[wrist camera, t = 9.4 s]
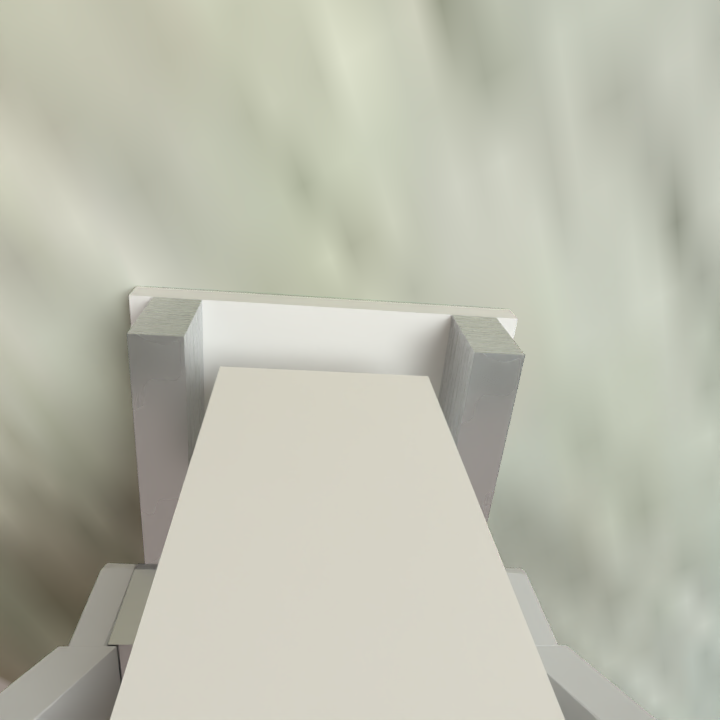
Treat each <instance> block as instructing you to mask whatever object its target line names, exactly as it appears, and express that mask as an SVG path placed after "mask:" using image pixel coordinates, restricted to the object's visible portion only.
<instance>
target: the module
mask: <svg viewBox="0 0 720 720" xmlns="http://www.w3.org/2000/svg"><path fill="white" fill-rule="evenodd" d="M110 720H565V718H564V716H563V713H562V711H561V708H560V706H559V703H558V701H557V698H556V696H555V693H554V691H553V688H552V686H551V683H550V681H549V678H548V676H547V673H546V671H545V668H544V665H543V663H542V660H541V658H540V655H539V653H538V650H537V648H536V645H535V643H534V640H533V638H532V635H531V633H530V630H529V628H528V625H527V623H526V620H525V618H524V615H523V613H522V610H521V608H520V605H519V603H518V600H517V598H516V595H515V593H514V590H513V588H512V585H511V583H510V580H509V578H508V575H507V573H506V570H505V568H504V565H503V563H502V560H501V558H500V555H499V553H498V550H497V548H496V545H495V543H494V540H493V538H492V535H491V533H490V530H489V527H488V525H487V522H486V520H485V517H484V515H483V512H482V510H481V507H480V505H479V502H478V500H477V497H476V495H475V492H474V490H473V487H472V485H471V482H470V480H469V477H468V475H467V472H466V470H465V467H464V465H463V462H462V460H461V457H460V455H459V452H458V450H457V447H456V445H455V442H454V440H453V437H452V435H451V432H450V430H449V427H448V425H447V422H446V420H445V417H444V415H443V412H442V410H441V407H440V405H439V402H438V400H437V397H436V394H435V392H434V389H433V387H432V384H431V382H430V379H429V377H428V376H414V375H393V374H371V373H350V372H329V371H308V370H287V369H266V368H245V367H223V366H220V368H219V371H218V375H217V378H216V381H215V384H214V388H213V391H212V394H211V397H210V400H209V404H208V407H207V410H206V413H205V416H204V420H203V423H202V426H201V429H200V432H199V436H198V439H197V442H196V445H195V448H194V452H193V455H192V458H191V461H190V464H189V468H188V471H187V474H186V477H185V481H184V484H183V487H182V490H181V493H180V497H179V500H178V503H177V506H176V509H175V513H174V516H173V519H172V522H171V525H170V529H169V532H168V535H167V538H166V541H165V545H164V548H163V551H162V554H161V558H160V561H159V564H158V567H157V570H156V574H155V577H154V580H153V583H152V586H151V590H150V593H149V596H148V599H147V602H146V606H145V609H144V612H143V615H142V618H141V622H140V625H139V628H138V631H137V634H136V638H135V641H134V644H133V647H132V651H131V654H130V657H129V660H128V663H127V667H126V670H125V673H124V676H123V679H122V683H121V686H120V689H119V692H118V695H117V699H116V702H115V705H114V708H113V711H112V715H111V718H110Z"/></svg>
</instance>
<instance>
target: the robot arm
mask: <svg viewBox="0 0 720 720" xmlns="http://www.w3.org/2000/svg"><path fill="white" fill-rule="evenodd" d="M157 567H158V564H120V563H107V564H106V565H105V566H104V567H103V568H102V569H101V571H100V573H99V575H98V578H97V580H96V582H95V585H94V587H93V589H92V591H91V594H90V596H89V598H88V601H87V603H86V605H85V608H84V610H83V612H82V615H81V617H80V619H79V622H78V624H77V626H76V629H75V631H74V633H73V636H72V638H71V640H70V643H69V645H68V646H58V647H57V648H56V649H54V650H53V651H52V652H51V653H49V654H48V655H47V656H46V657H44V658H43V659H42V660H41V661H39V662H38V663H37V664H36V665H34V666H33V667H32V668H31V669H29V670H28V671H27V672H26V673H24V674H23V675H22V676H21V677H19V678H18V679H17V680H15V681H14V682H13V683H12V684H10V685H9V686H8V687H7V688H5V689H4V690H3V691H2V692H1V693H0V720H110V718H111V715H112V711H113V708H114V705H115V702H116V699H117V695H118V692H119V689H120V686H121V683H122V679H123V676H124V673H125V670H126V667H127V663H128V660H129V657H130V654H131V651H132V647H133V644H134V641H135V638H136V634H137V631H138V628H139V625H140V622H141V618H142V615H143V612H144V609H145V606H146V602H147V599H148V596H149V593H150V590H151V586H152V583H153V580H154V577H155V574H156V570H157ZM505 570H506V573H507V575H508V578H509V580H510V583H511V585H512V588H513V590H514V593H515V595H516V598H517V600H518V603H519V605H520V608H521V610H522V613H523V615H524V618H525V620H526V623H527V625H528V628H529V630H530V633H531V635H532V638H533V640H534V643H535V645H536V648H537V650H538V653H539V655H540V658H541V660H542V663H543V665H544V668H545V671H546V673H547V676H548V678H549V681H550V683H551V686H552V688H553V691H554V693H555V696H556V698H557V701H558V703H559V706H560V708H561V711H562V713H563V716H564V718H565V720H657V719H656V718H654V717H653V716H652V715H651V714H650V713H648V712H647V711H646V710H645V709H643V708H642V707H641V706H640V705H639V704H637V703H636V702H635V701H634V700H633V699H631V698H630V697H629V696H628V695H627V694H625V693H624V692H623V691H622V690H620V689H619V688H618V687H617V686H616V685H614V684H613V683H612V682H611V681H610V680H608V679H607V678H606V677H605V676H604V675H602V674H601V673H600V672H599V671H597V670H596V669H595V668H594V667H593V666H591V665H590V664H589V663H588V662H587V661H585V660H584V659H583V658H582V657H580V656H579V655H578V654H577V653H576V652H574V651H573V650H572V649H571V648H570V647H568V646H567V645H558V643H557V641H556V639H555V636H554V634H553V632H552V630H551V627H550V625H549V623H548V621H547V618H546V616H545V614H544V612H543V609H542V607H541V605H540V603H539V601H538V598H537V596H536V594H535V592H534V589H533V587H532V585H531V583H530V580H529V578H528V576H527V574H526V572H525V571H524V570H523V569H522V568H505Z"/></svg>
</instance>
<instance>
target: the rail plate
mask: <svg viewBox="0 0 720 720" xmlns="http://www.w3.org/2000/svg"><path fill="white" fill-rule="evenodd" d="M129 306H130V319H131V328H130V330H129V331H128V333H127V342H128V355H129V368H130V381H131V393H132V406H133V419H134V431H135V444H136V457H137V470H138V482H139V495H140V508H141V521H142V533H143V546H144V559H145V564H159V561H160V558H161V554H162V551H163V548H164V545H165V541H166V538H167V535H168V532H169V529H170V525H171V522H172V519H173V516H174V513H175V509H176V506H177V503H178V500H179V497H180V493H181V490H182V487H183V484H184V481H185V477H186V474H187V471H188V468H189V464H190V461H191V458H192V455H193V452H194V448H195V445H196V442H197V439H198V436H199V432H200V429H201V426H202V423H203V420H204V416H205V413H206V410H207V407H208V404H209V400H210V397H211V394H212V391H213V388H214V384H215V381H216V378H217V375H218V371H219V368H220V366H223V367H245V368H266V369H287V370H308V371H329V372H350V373H371V374H393V375H414V376H428V377H429V379H430V382H431V384H432V387H433V389H434V392H435V394H436V397H437V400H438V402H439V405H440V407H441V410H442V412H443V415H444V417H445V420H446V422H447V425H448V427H449V430H450V432H451V435H452V437H453V440H454V442H455V445H456V447H457V450H458V452H459V455H460V457H461V460H462V462H463V465H464V467H465V470H466V472H467V475H468V477H469V480H470V482H471V485H472V487H473V490H474V492H475V495H476V497H477V500H478V502H479V505H480V507H481V510H482V512H483V515H484V517H485V520H486V522H487V521H488V516H489V512H490V508H491V503H492V499H493V494H494V490H495V486H496V481H497V477H498V472H499V468H500V464H501V459H502V455H503V450H504V446H505V442H506V437H507V433H508V428H509V424H510V420H511V415H512V411H513V406H514V402H515V398H516V393H517V389H518V384H519V380H520V376H521V371H522V367H523V362H524V358H525V354H524V353H523V352H522V350H521V349H520V348H519V346H518V345H517V344H516V342H515V341H514V340H513V339H514V334H515V330H516V325H517V320H518V318H517V317H516V316H515V315H514V314H513V312H512V311H511V310H510V309H496V308H480V307H464V306H448V305H431V304H415V303H399V302H383V301H367V300H351V299H335V298H318V297H302V296H286V295H270V294H254V293H238V292H222V291H205V290H189V289H173V288H157V287H141V286H136V287H135V288H134V290H133V291H132V292H131V293H130V294H129Z"/></svg>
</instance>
